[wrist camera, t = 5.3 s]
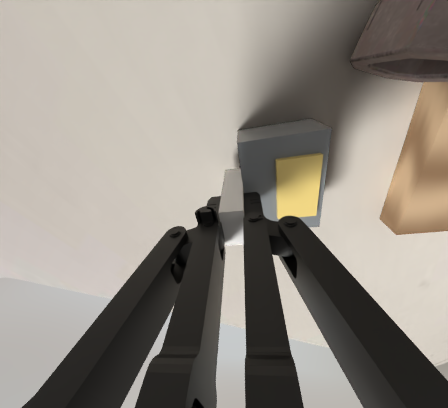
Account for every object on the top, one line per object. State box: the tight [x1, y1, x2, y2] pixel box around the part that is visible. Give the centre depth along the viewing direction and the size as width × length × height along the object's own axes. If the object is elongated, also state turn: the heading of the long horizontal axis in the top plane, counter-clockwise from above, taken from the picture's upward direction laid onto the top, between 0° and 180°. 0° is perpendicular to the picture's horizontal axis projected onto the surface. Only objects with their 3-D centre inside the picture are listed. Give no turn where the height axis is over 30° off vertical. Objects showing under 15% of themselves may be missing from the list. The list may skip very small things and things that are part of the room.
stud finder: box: [237, 118, 332, 227], centre depth 16 cm, size 8×6×4 cm
